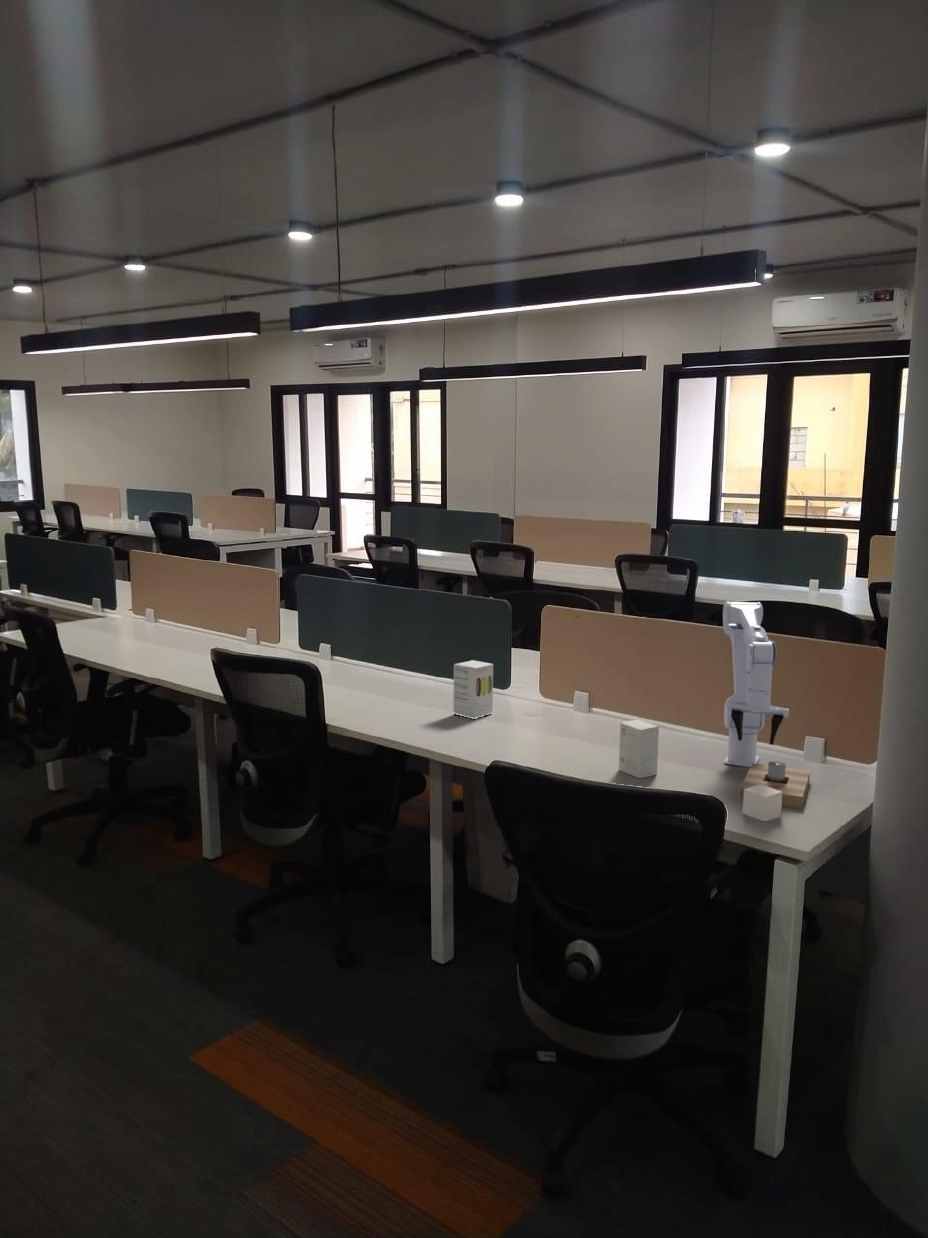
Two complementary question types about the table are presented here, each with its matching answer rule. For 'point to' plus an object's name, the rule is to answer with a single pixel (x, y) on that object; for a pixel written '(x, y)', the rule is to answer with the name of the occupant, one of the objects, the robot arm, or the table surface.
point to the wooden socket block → (780, 784)
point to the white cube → (762, 802)
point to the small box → (638, 748)
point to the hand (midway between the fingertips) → (755, 741)
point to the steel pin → (776, 772)
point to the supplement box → (473, 688)
